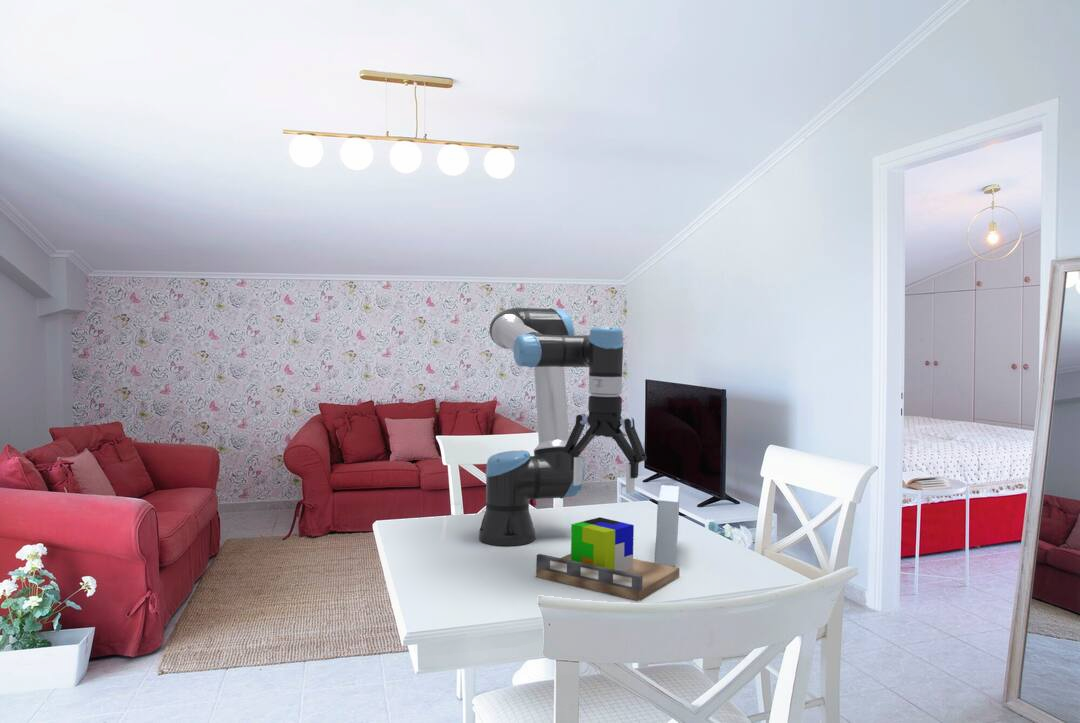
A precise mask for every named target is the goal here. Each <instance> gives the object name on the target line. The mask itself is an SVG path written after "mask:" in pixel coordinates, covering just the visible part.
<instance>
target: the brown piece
mask: <svg viewBox="0 0 1080 723" xmlns="http://www.w3.org/2000/svg"><path fill="white" fill-rule="evenodd" d="M535 566H536V567H535V568H536V574H535V576H536V578H540V579H543V580H548V581H552V582H557V583H561V584H565V585H569V586H574V587H578V588H583V589H587V590H592V591H596V592H599V593H603V594H609V595H613V596H617V597H621V598H626V599H630V600H633V599H634V601H637V600H640V601H642V600H644V599H645V598H647V597H649V596H650V595H652V594H653V593H654V592H657V591H659V590H660V589H661V588H663V587H665V586H666V585H668V584H670V583H671V582H674V581H675V580H676V579H678V578H680V567H676V566H667V565H662V564H657V563H654V562H651V561H646V560H641V559H636V558H633V569H630V570H627V571H625V572H624V571H619V570H614V569H609V568H605V567H600V566H595V565H590V564H586V563H581V562H576V561H571V553H569V554H567V555H565V556H562V557H556V556H553V555H547V554H542V553H538V554H536V564H535Z"/></svg>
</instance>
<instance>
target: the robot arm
mask: <svg viewBox="0 0 1080 723" xmlns="http://www.w3.org/2000/svg"><path fill="white" fill-rule="evenodd" d="M488 332H489V336H490V338H491V340H492V341H493V343H494V344H496V345H497V346H498V347H500V348H502V349H506V350H510V351H512V352H513V358H514V361H515V364H516V365H517V366H518V367H527V368H534V370H533V371H534V385H535V401H536V402H535V403H536V417H537V420H536V421H537V430H538V431H537V434H538V444H537V446H536V447H535V448H534V450H533V456H532V455H531V454H530V452H529V451H528V450H521V449H520V450H509V451H508V450H507V451H502V452H497V453H495V454H493V455H491V456H489V457H488V459H487V461H486V468H485V469H486V470H485V477H486V478H485V479H486V480H485V488H486V489H485V512H484V514H483V518H482V521H481V524H480V528H479V531H478V540H479V541H481V542H482V543H485V544H487V545H492V546H501V547H502V546H505V547H506V546H507V547H508V546H509V547H510V546H511V547H512V546H521V545H527V544H529V543H530V544H531V543H532V542H533V541H535V540H536V529H535V528H534V524H533V521H532V517H531V513H530V500H542V499H543V500H544V499H545V500H547V499H564V498H573V497H576V496H577V495H578V494H579V493H580V491H581V489H582V486H583V484H584V480H585V470H586V469H585V461H584V458H583V457H584V456H583V455H582V454H581V453H582V452H583V451H584V450H585V449H586V447H587V446H588V445H589V444H590V442H591V441H592V440H593V439H594V438H595V437H596V436H597V437H600V436H601V437H605V438H610V437H611V439H613V440H614V441H615V443H616V444H617V446H618V447H619V449H620V450H621V452H622V453H623V455H624V456H625V457H626V458H627V460H628V462H629V463H626V464H625V466H626V467H625V469H626V471H625V494H631V493H635V492H636V491H635V485H636V483H635V481H636V479H637V478H638V476H639V464H640V463H641V462H645V461H647V459H648V457H647V454H646V452H645V450H644V447H643V445H642V442H641V439H640V437H639V435H638V432H637V430H636V426H635V419H634V418H633V417H629V418H622V408H623V407H622V406H623V404H622V403H623V401H622V400H623V397H622V396H620V395H621V394H622V393H623V359H624V355H623V354H624V344H625V343H624V333H623V330H622V328H621V327H617V326H615V327H614V326H593V327H591V328H590V330H589V335H588V334H587V335H586V334H585V335H579V334H578V335H575V328H574V324H573V320H572V318H571V316H570V314H569V313H568V311H567V310H564V309H557V308H552V307H550V308H540V307H539V308H537V307H535V308H534V307H533V308H531V307H528V308H527V307H525V308H524V307H512V308H508V309H505V310H502V311H501V312H498V314H496V315H495V316H494V317H493V318H492V320H491V322H490V325H489V331H488ZM565 368H588V371H589V372H588V375H589V376H588V393H589V394H590V395H589V396H588V401H587V402H588V410H587V411H588V415H586V414H584V413H583V414H577V415H576V416H575V424H574V427H573V429H572V431H571V432H570V429H569V427H570V426H569V416H568V415H569V414H568V402H567V400H568V399H567V390H566V389H567V388H566V387H567V386H566V374H565ZM587 423H588V425H589V426H590V427H589V428H588V429H587V430H586V431H585V434H584V435H583V436H582V438H581V439H580V437H581V435H582V433H583V430H584V428H585V427H586V424H587ZM621 427H623V429H624V430H625V433H626V436H627V438H628V440H627V439H626V437H625V435H624V432H623V431H622V429H620V428H621ZM579 439H580V440H579ZM578 441H579V442H578ZM628 441H629V442H628Z"/></svg>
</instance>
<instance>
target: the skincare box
mask: <svg viewBox="0 0 1080 723" xmlns="http://www.w3.org/2000/svg"><path fill="white" fill-rule="evenodd" d="M660 486H661V487H660V490H659V493H658V499H657V513H656V530H655V531H656V533H655V534H656V535H655V548H654V560H653V561H654V562H653V563H657V564H662V565H667V566H672V567H676V566H675V565H676V558H677V549H678V548H677V547H678V545H677V544H678V533H679V518H680V516H679V515H680V486H677V485H676V486H675V485H667V484H666V485H664V484H662V485H660Z"/></svg>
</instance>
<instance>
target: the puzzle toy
mask: <svg viewBox="0 0 1080 723" xmlns="http://www.w3.org/2000/svg"><path fill="white" fill-rule="evenodd" d="M634 532H635V531H634V524H631V523H626V522H624V521H623V522H622V521H617V520H615V519H614V520H613V519H610V518H604V517H600V516H599V517H594V518H590V519H588V520H587V519H586V520H584V521H583V520H581V521H579V522H575V523H571V532H570V533H571V535H570V536H571V537H570V539H571V540H570V542H571V543H570V554H571V561H576V562H581V563H586V564H590V565H595V566H600V567H605V568H609V569H614V570H619V571H624V572H625V571H627V570H630V569H633V559H634V535H635V534H634Z"/></svg>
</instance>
